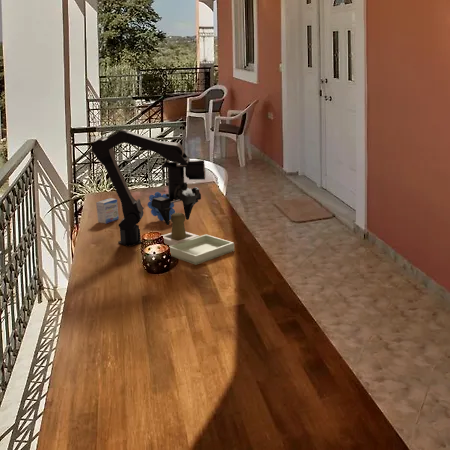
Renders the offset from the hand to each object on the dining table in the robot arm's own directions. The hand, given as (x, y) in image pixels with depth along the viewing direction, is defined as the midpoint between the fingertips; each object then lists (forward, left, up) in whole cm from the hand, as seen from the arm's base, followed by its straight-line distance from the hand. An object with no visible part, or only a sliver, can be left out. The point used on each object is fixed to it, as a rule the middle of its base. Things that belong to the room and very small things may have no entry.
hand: (177, 222), depth 206 cm
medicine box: (-1, +43, -8) cm, 44 cm away
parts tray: (-2, -14, -8) cm, 16 cm away
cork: (0, 0, -8) cm, 8 cm away
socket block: (0, 0, -8) cm, 8 cm away
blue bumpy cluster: (+13, +26, -8) cm, 30 cm away
